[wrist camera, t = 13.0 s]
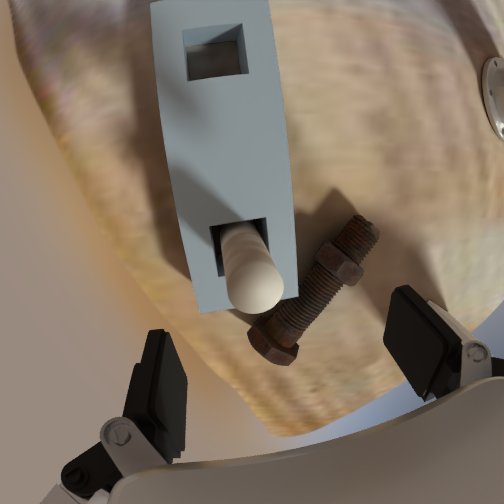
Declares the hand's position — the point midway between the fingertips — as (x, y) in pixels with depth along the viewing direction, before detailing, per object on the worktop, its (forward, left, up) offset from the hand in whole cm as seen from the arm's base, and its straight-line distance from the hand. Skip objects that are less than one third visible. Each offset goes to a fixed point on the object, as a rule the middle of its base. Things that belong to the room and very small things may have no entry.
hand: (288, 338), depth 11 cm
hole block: (+1, -7, -14) cm, 16 cm away
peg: (+1, 0, -14) cm, 14 cm away
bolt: (-6, +6, -15) cm, 17 cm away
